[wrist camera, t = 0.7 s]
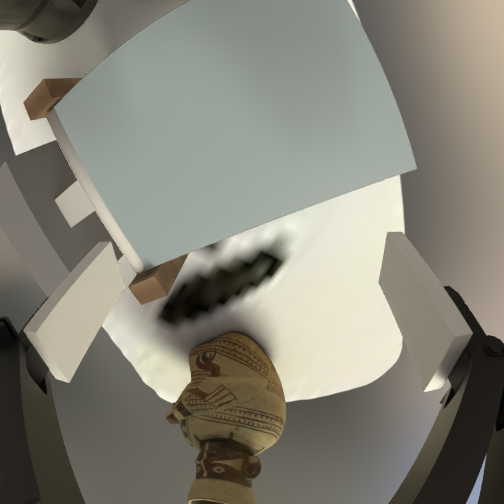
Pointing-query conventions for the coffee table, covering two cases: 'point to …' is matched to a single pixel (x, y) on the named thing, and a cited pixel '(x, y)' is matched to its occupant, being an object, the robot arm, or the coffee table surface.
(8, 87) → the coffee table surface
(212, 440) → the ceramic vessel
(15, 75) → the coffee table surface
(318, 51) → the trapdoor
